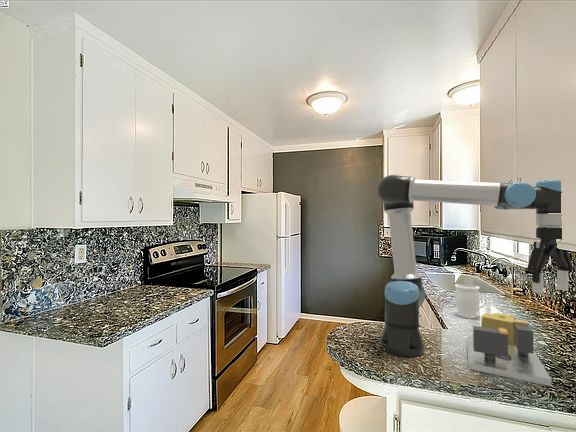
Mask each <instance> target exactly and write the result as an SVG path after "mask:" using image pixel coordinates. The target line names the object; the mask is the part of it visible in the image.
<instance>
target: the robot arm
mask: <svg viewBox="0 0 576 432" xmlns="http://www.w3.org/2000/svg"><path fill="white" fill-rule="evenodd" d="M560 180H561V179H545V180H538V181H536V182H535V186H533V185H531V184H530V183H528V182H524V181H523V182H522V181H520V182H519V181H518V182H513V183H512V182H491V181H490V182H489V181H488V182H486V181H484V182H483V181H465V180H463V181H461V180H437V179H436V180H435V179H433V180H432V179H417V178H416V177H414V176H404V175H403V176H402V175H398V174H390V175H386V176H384V177H383V178H382V179H380V181H379V182H378V185H377V186H376V187H377V189H376V191H377V192H376V193H377V196H378V198H379V199H380V201H381V202H383V211H384V213H385V214H387V216H388V222H389V233H390V242H391V251H392V261H393V262H392V263H393V270H394V272H393V274H392V275H391V276H390V278H391V280H390V281H389V282H388V283H386V284H385V287H384V325H383V330H382V331H381V335H380V337H379V347H380V346H381V347H382V348H383V349H385V350H386V351H388V352H390V353H389V354H391V353H393V354H392V355H394V354H396V355H395V356H398V355H400V356H399V357H404V356H409V357H408V358H414V357H415V358H416V357H420V356H422V355H423V354H425V344H424V341H423V338H422V335H421V331H420V328H419V327H420V319H419V317H420V308H421V307H422V305H423V304H424V302H425V300H426V289H425V287H424V286H423V280H422V279H423V278H422V275H421V274H420V273H419V272H418V271H417V261H416V252H415V244H414V234H413V225H412V217H411V216H412V215H411V214H412V212H413V211H414V209H415V207H414V204H415V203H414V201H418V202H433V203H445V204H446V203H447V204H448V203H449V204H463V205H476V206H489V207H490V206H492V207H493V208H494V210H495V209H496V210H503V211H505V210H535V211H536V212H535V215H536V216H535V226H537V227H536V228H535V238H537V239H540V241H533V246H532V252H531V255H530V258H529V261H528V264H527V268H526V269H527V271H528V272H530V273H531V276H532V279H531V283H532V284H531V285H532V286H531V287H532V288H531V292H532V293H536V294H540V295H541V294H542V295H543V294H544V272H543V269H544V267H545V265H546V264H547V262H548V260H549V258H551V257H553V260H554V262H555V264H556V266H557V268H558V269H556V270H557V272H556V274H557V277H556V281H557V282H556V283H557V284H556V285H557V286H556V287H557V288H556V289H557V290H561V291H566V292H568V291H569V272H572V271H573V268H574V267H573V264H572V263H573V261H572V260H571V259H572V258H571V256H570V252H569V250H568V251H567V250H562V249H558V248H557V247H556V246H557V243H556V239H560V240H563V239H562V228H561V226H562V221H561V216H562V214H548V213H561V193H562V191H561V181H560ZM381 347H380V348H381ZM382 348H381V349H382ZM383 349H382V350H383ZM386 351H385V352H386ZM388 352H387V353H388Z"/></svg>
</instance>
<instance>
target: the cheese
mask: <svg viewBox="0 0 576 432" xmlns="http://www.w3.org/2000/svg"><path fill="white" fill-rule="evenodd" d="M513 320H516V317H515V316H514V315H510V314H505V313H498V312H493V313H485V312H484V314H482V316H481V324H480V327H485V328H491V329H498V330H499V328H504V329H506V330H507V332H508V345H513V346H515V344H514V342H513Z"/></svg>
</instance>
